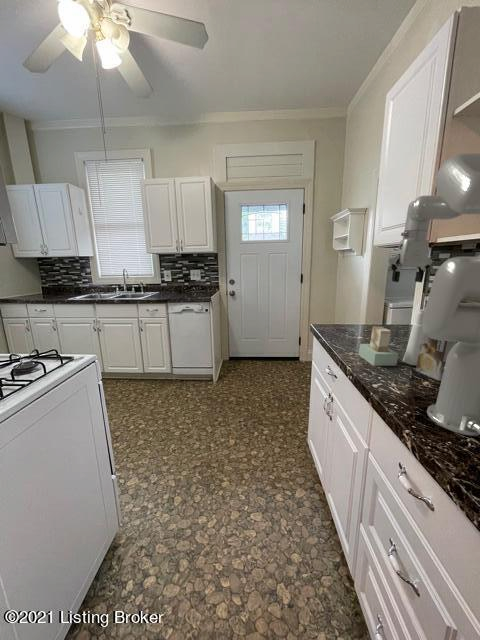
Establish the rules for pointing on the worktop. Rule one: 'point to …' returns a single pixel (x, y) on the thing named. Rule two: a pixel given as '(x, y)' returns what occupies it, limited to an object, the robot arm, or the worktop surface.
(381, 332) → the beige rectangular block
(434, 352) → the coffee box
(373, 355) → the end cap
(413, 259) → the robot arm
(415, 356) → the cosmetic bottle
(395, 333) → the worktop surface
